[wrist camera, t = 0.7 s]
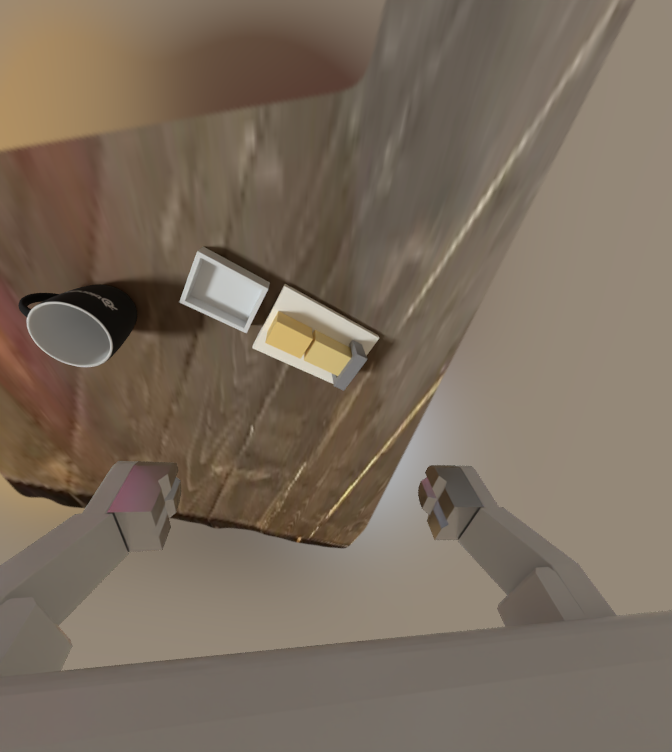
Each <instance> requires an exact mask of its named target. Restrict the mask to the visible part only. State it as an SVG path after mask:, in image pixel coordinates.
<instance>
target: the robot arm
mask: <svg viewBox="0 0 672 752" xmlns="http://www.w3.org/2000/svg"><path fill="white" fill-rule="evenodd" d="M177 473H178V467H177V463H167V462H140V461H138V462H137V461H118V462H117V463H116V464H115V465H113V466H112V468H111V470H110V471H109V473H108V474H107V476H106V477H105V479H104V480H103V482H102V483H101V485H100V487H99V488H98V490H97V491H96V493H95V494H94V496H93V497H92V499H91V501H90V502H89V504H88V505H87V507H86V508H85V510H84V512H83V513H82V514H75V515H73V516H72V517H70V518H69V519H67V520H66V521H65V522H63V523H62V524H60V525H59V526H57V527H56V528H54V529H53V530H51V531H50V532H48V533H47V534H46V535H44V536H43V537H41V538H40V539H38V540H37V541H35V542H34V543H32V544H31V545H30V546H28V547H27V548H25V549H24V550H22V551H21V552H19V553H18V554H16V555H15V556H13V557H12V558H10V559H9V560H8V561H6V562H5V563H3V564H2V565H0V752H672V610H669V611H658V612H649V613H638V614H628V615H619V616H617V615H616V614H615V613H614V611H613V610H612V609H611V607H610V606H609V605H608V603H607V602H606V601H605V599H604V598H603V597H602V595H601V594H600V592H599V591H598V590H597V588H596V587H595V586H594V585H593V583H592V582H591V580H590V579H589V578H588V576H587V575H586V574H585V572H584V571H583V570H582V568H581V567H580V565H579V564H578V563H576V562H575V561H574V560H572V559H571V558H570V557H568V556H567V555H566V554H564V553H563V552H562V551H560V550H559V549H558V548H556V547H555V546H554V545H552V544H551V543H550V542H548V541H547V540H546V539H545V538H543V537H542V536H541V535H539V534H538V533H537V532H535V531H534V530H533V529H531V528H530V527H528V526H527V525H526V524H525V523H523V522H522V521H521V520H519V519H518V518H517V517H515V516H514V515H513V514H511V513H510V512H508V511H507V510H506V509H505V508H503V507H499V506H498V505H497V503H496V502H495V500H494V499H493V497H492V495H491V494H490V492H489V491H488V489H487V488H486V486H485V485H484V483H483V481H482V480H481V478H480V476H479V475H478V474H477V472H476V470H475V469H474V468H473V467H472V466H455V465H453V466H451V465H447V466H445V465H442V466H441V465H437V466H436V465H435V466H434V465H432V466H429V467H428V468H427V470H426V472H425V473H426V475H427V477H426V478H425V479H423V480H422V481H421V483H420V485H419V490H418V491H419V492H418V496H419V501H420V504H421V507H422V509H423V510H424V511H426V513H428V514H429V515H428V519H427V522H428V524H429V527H430V529H431V532H432V535H433V537H434V540H458V542H459V543H460V544H461V545H462V546H463V547H464V548H465V550H466V551H467V552H468V553H469V554H470V555H471V556H472V557H473V558H474V559H475V560H476V561H477V563H478V564H479V565H480V566H481V567H482V568H483V569H484V570H485V571H486V572H487V573H488V575H489V576H490V577H491V578H492V579H493V580H494V581H495V582H496V583H497V584H498V585H499V587H500V588H501V589H502V590H503V591H504V592H505V593H506V594H507V596H506V598H504V599H503V600H502V601H501V602H500V603H499V605H498V608H497V609H498V611H499V614H500V616H501V618H502V620H503V622H504V624H505V627H497V628H487V629H477V630H467V631H457V632H448V633H437V634H427V635H417V636H407V637H397V638H386V639H376V640H368V641H367V640H366V641H357V642H347V643H336V644H326V645H316V646H307V647H296V648H286V649H276V650H266V651H257V652H245V653H237V654H226V655H216V656H206V657H195V658H185V659H176V660H165V661H156V662H145V663H136V664H125V665H115V666H104V667H95V668H84V669H74V670H64V671H61V669H62V667H63V665H64V663H65V661H66V659H67V657H68V654H69V652H70V650H71V648H72V643H71V640H70V639H69V638H68V637H67V635H66V634H65V633H64V632H63V631H62V630H61V629H60V627H59V625H60V624H61V623H62V622H63V621H64V620H65V619H66V618H67V617H68V616H69V615H70V614H71V612H73V611H74V610H75V609H76V607H77V606H78V605H79V604H80V603H81V602H82V601H83V600H84V599H85V598H86V597H87V596H88V595H89V594H90V593H91V592H92V591H93V590H94V589H95V588H96V587H97V586H98V585H99V584H100V583H101V582H102V581H103V580H104V579H105V578H106V577H107V576H108V575H109V574H110V573H111V571H113V570H114V569H115V568H116V567H117V566H118V565H119V564H120V562H121V561H123V560H124V558H125V557H126V556H127V555H128V554H129V553H128V552H140V551H155V550H163V547H164V544H165V542H166V539H167V536H168V533H169V530H170V528H171V526H170V521H169V518H170V517H171V516H172V515H174V514H175V513H176V511H177V508H178V505H179V502H180V496H181V481H180V480H179V479H178V478H177V477H176V476H177Z"/></svg>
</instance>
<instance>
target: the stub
mask: <svg viewBox="0 0 672 752" xmlns="http://www.w3.org/2000/svg"><path fill="white" fill-rule="evenodd" d="M312 340H313V335H312V328H311V327H309V326H307V325H305V324H303V323H301V322H299V321H297V320H295V319H293V318H291V317H289V316H287V315H285V314H283V313H281V312H279V311H278V312H277V314H276V316H275V318H274V320H273V322H272V324H271V326H270V327H269V329H268V331H267V336H266V341H265V343H267V344H269V345H271V346H273V347H275V348H278V349H280V350H282V351H284V352H286V353H288V354H291V355H293V356H295V357H297V358H299V359H301V357H302V356H303V354H304V353H305V351H306V349H307V348H308V346H309V345H310V343H311V341H312Z"/></svg>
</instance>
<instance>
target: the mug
mask: <svg viewBox="0 0 672 752" xmlns="http://www.w3.org/2000/svg"><path fill="white" fill-rule="evenodd" d="M42 301H43V302H42ZM35 302H41V303H39V304H38V305H36V306H35V307H34V308H32V309H29V308H28V307H27V306H28V305H29V304H31V303H35ZM19 309H20V311H21V312H22V313H23V314H24V315H25V316H26V317H27V328H28V331H29V333H30V335H31V337H32V339H33V340H34V342H35V343H36V344H37V345H38V346H39V347H40V348H41V349H42V350H43V351H44V352H45V353H47V354H48V355H50V356H51V357H53V358H55V359H57V360H59V361H61V362H63V363H66V364H69V365H73V366H78V367H93V366H97V365H100V364H102V363H104V362H106V361H107V360H108V359H109V358H111V357H112V356H113V355H114V353H115V352H116V351H117V350H118V349H119V348H120V347H121V345H122V344H123V343H124V341H125V340H126V339H127V337H128V336H129V334H130V333H131V331H132V329H133V327H134V325H135V323H136V319H137V310H136V307H135V304H134V303H133V301H132V300H131V298H130V297H129V296H128V295H127V294H125V293H124V292H123V291H121V290H119V289H117V288H115V287H112V286H107V285H90V286H85V287H81V288H77V289H74V290H71V291H68V292H65V293H62V294H53V293H35V294H30V295H27V296H25V297H23V298H22V299H21V300H20V302H19Z"/></svg>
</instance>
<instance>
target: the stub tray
mask: <svg viewBox="0 0 672 752" xmlns="http://www.w3.org/2000/svg"><path fill="white" fill-rule="evenodd" d="M269 284H270V282H268V281H266V280H264V279H262V278H261V277H259V276H257V275H255V274H253V273H251V272H250V271H248V270H246V269H244V268H242V267H240V266H238V265H237V264H235V263H233V262H231V261H229V260H227V259H226V258H224V257H222V256H220V255H218V254H216V253H215V252H213V251H211V250H209V249H207V248H205V247H204V246H203V247H202V248H201V249H199V250H198V251H197V254H196V256H195V259H194V262H193V265H192V268H191V271H190V273H189V276H188V279H187V282H186V285H185V287H184V290H183V293H182V296H181V299H180V302H179V303H182V304H184V305H186V306H188V307H190V308H193V309H195V310H197V311H199V312H201V313H203V314H206V315H208V316H210V317H212V318H214V319H216V320H219V321H221V322H223V323H225V324H227V325H230V326H232V327H234V328H236V329H238V330H240V331H243V332H245V333H247V331H248V329H249V327H250V325H251V323H252V321H253V319H254V317H255V315H256V313H257V311H258V309H259V307H260V305H261V303H262V301H263V299H264V297H265V295H266V293H267V291H268V288H269Z"/></svg>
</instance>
